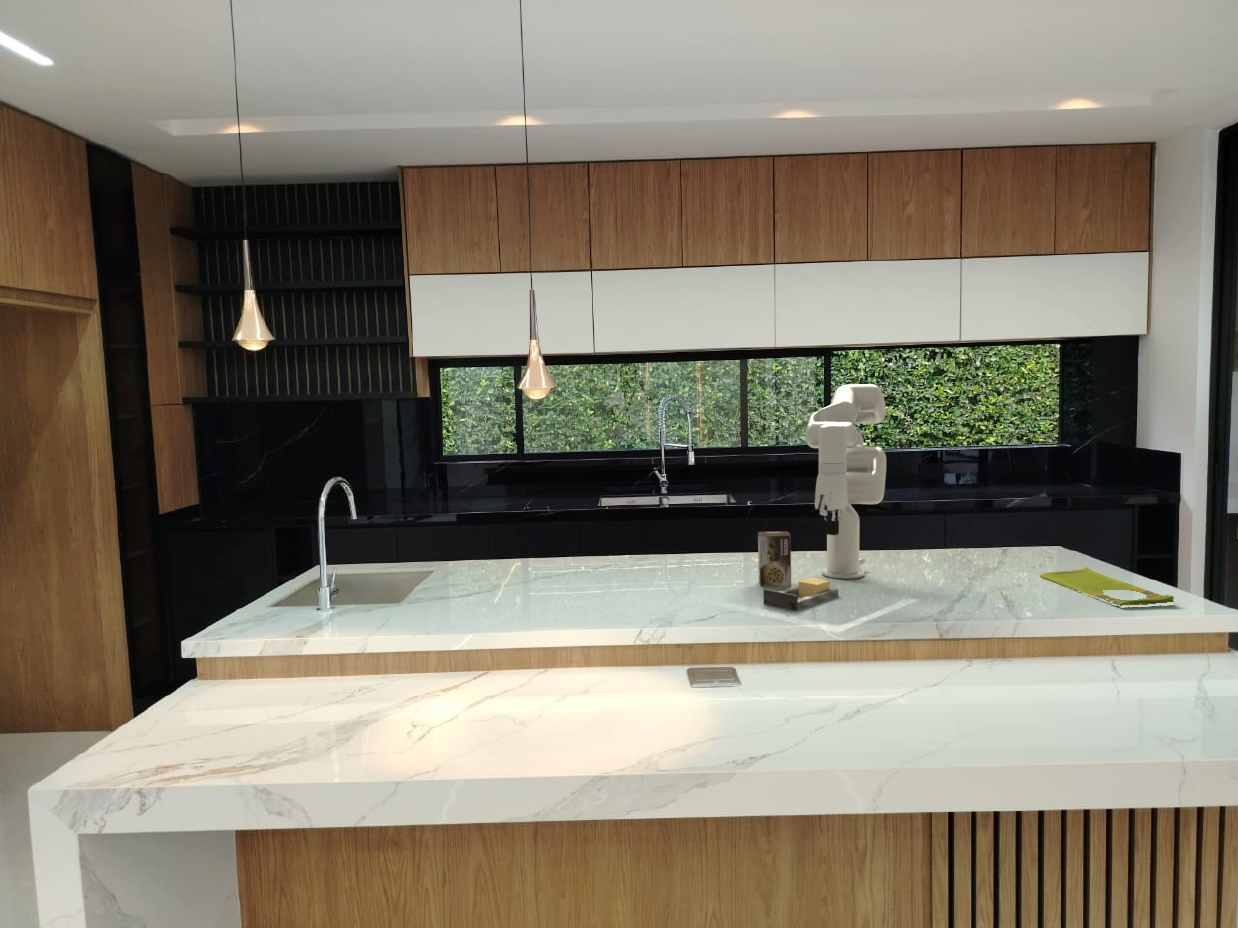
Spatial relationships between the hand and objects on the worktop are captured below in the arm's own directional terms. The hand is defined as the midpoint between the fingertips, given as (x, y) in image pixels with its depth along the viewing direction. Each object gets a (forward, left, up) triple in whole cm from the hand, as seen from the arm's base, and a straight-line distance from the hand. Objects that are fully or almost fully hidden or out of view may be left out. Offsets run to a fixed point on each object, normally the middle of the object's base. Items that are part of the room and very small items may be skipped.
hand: (832, 534), depth 240 cm
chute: (+15, 0, -17) cm, 23 cm away
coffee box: (+5, -16, -17) cm, 24 cm away
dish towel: (-52, +54, -18) cm, 77 cm away
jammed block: (+9, 0, -16) cm, 18 cm away
